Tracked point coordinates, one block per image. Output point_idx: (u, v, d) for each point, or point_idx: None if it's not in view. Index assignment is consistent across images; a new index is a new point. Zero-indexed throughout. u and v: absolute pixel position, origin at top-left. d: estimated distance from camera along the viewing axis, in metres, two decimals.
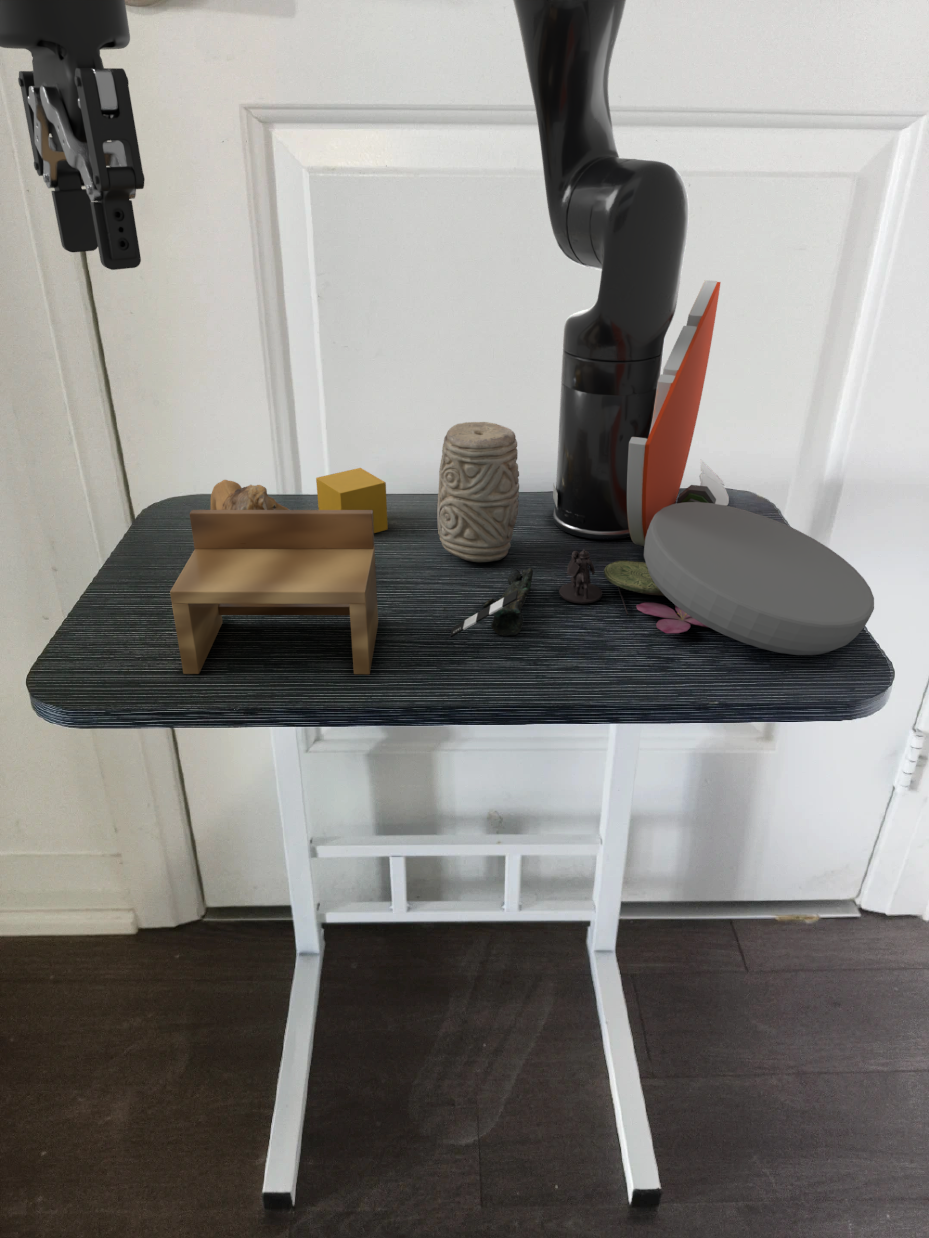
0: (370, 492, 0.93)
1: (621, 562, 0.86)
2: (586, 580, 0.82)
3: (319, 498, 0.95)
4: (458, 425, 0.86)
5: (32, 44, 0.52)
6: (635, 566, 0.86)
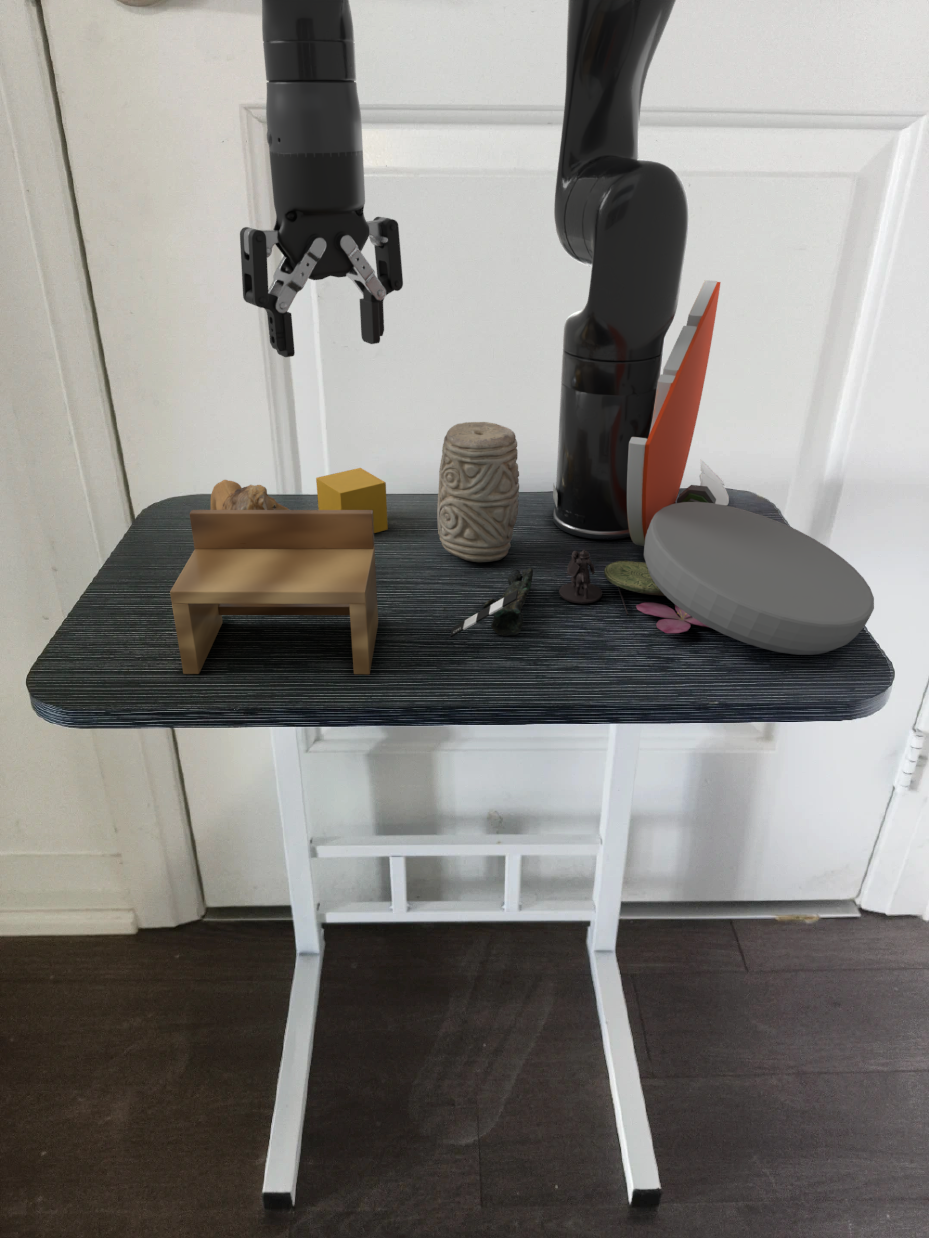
0: (370, 492, 0.93)
1: (621, 562, 0.86)
2: (586, 580, 0.82)
3: (319, 498, 0.95)
4: (458, 425, 0.86)
5: None
6: (635, 566, 0.86)
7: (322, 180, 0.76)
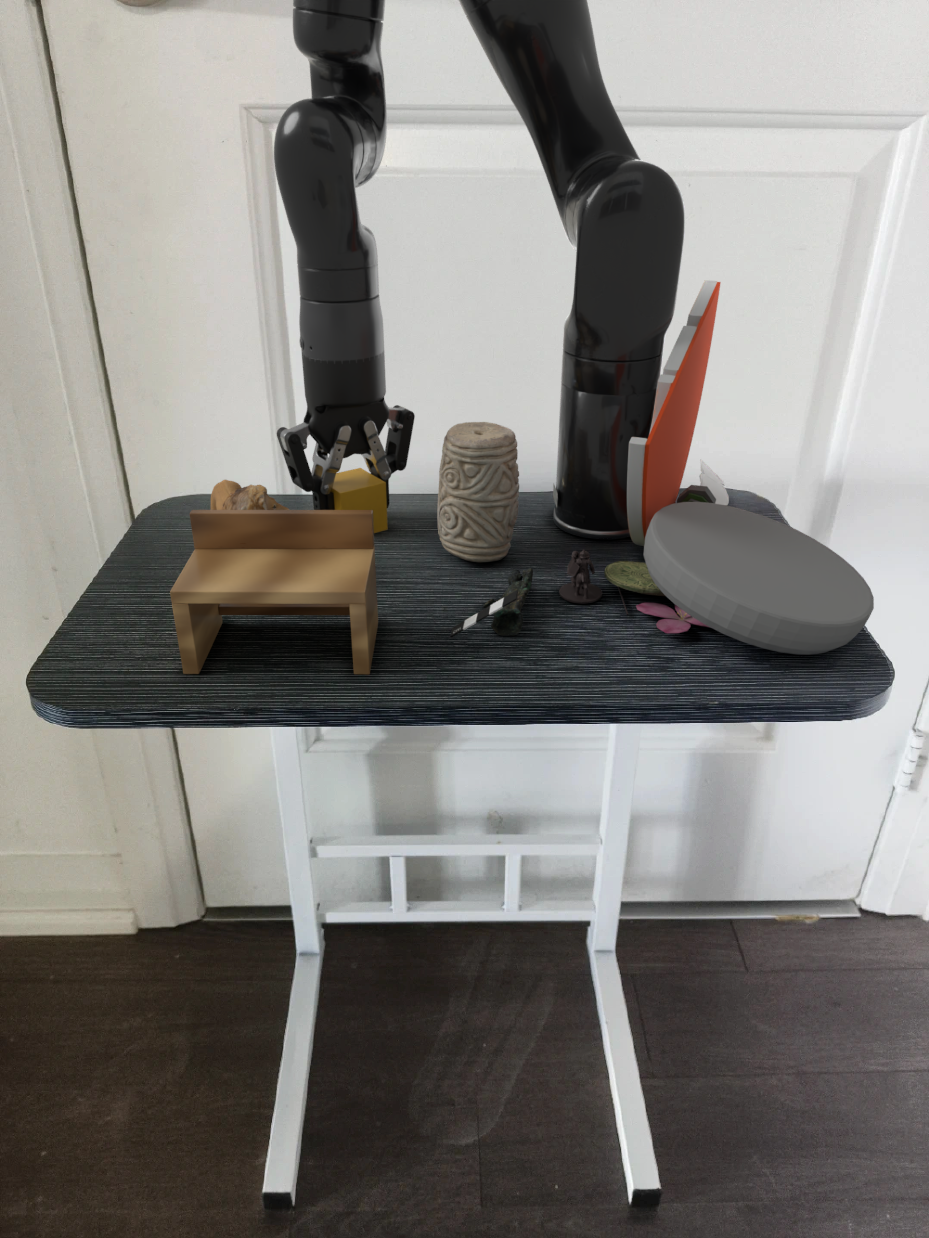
0: (370, 492, 0.93)
1: (622, 562, 0.86)
2: (586, 580, 0.82)
3: None
4: (458, 425, 0.86)
5: None
6: (635, 566, 0.86)
7: (348, 382, 0.86)
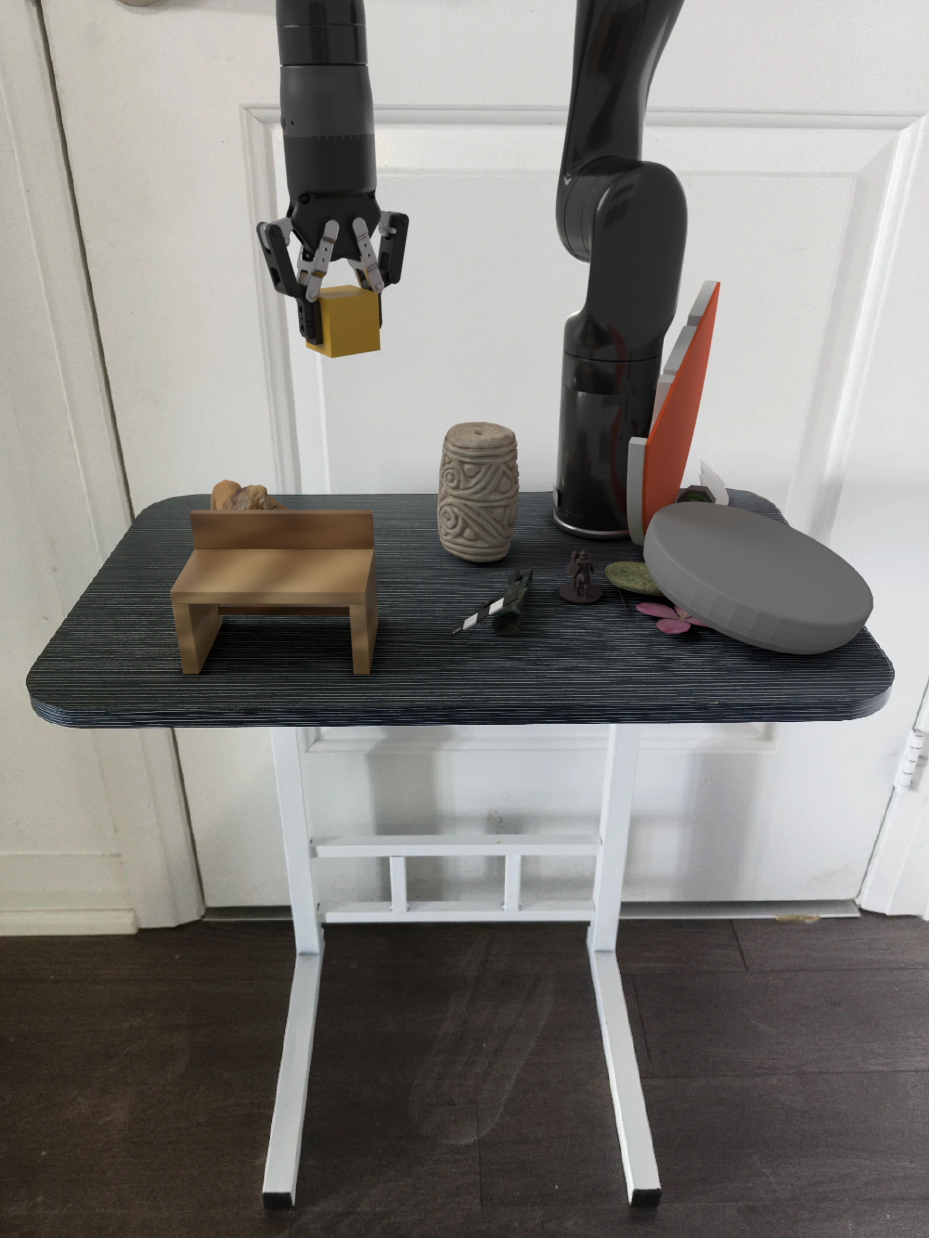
0: (361, 303, 0.84)
1: (622, 562, 0.86)
2: (586, 580, 0.82)
3: None
4: (458, 425, 0.86)
5: None
6: (635, 566, 0.86)
7: (334, 163, 0.77)
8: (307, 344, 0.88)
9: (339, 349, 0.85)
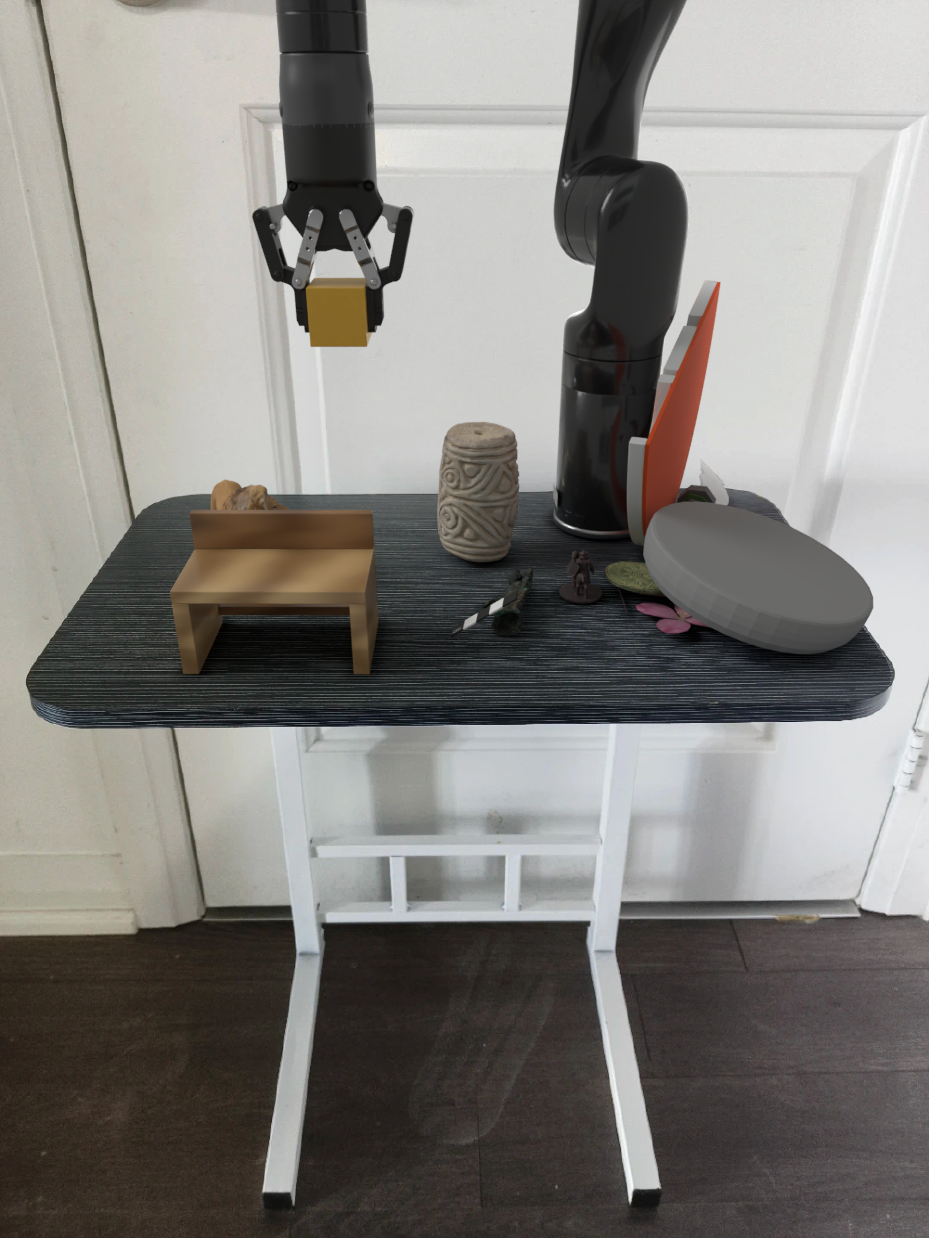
0: None
1: (622, 563, 0.86)
2: (586, 580, 0.82)
3: (365, 311, 0.84)
4: (458, 425, 0.86)
5: (359, 183, 0.79)
6: (635, 566, 0.86)
7: None
8: (367, 342, 0.85)
9: None
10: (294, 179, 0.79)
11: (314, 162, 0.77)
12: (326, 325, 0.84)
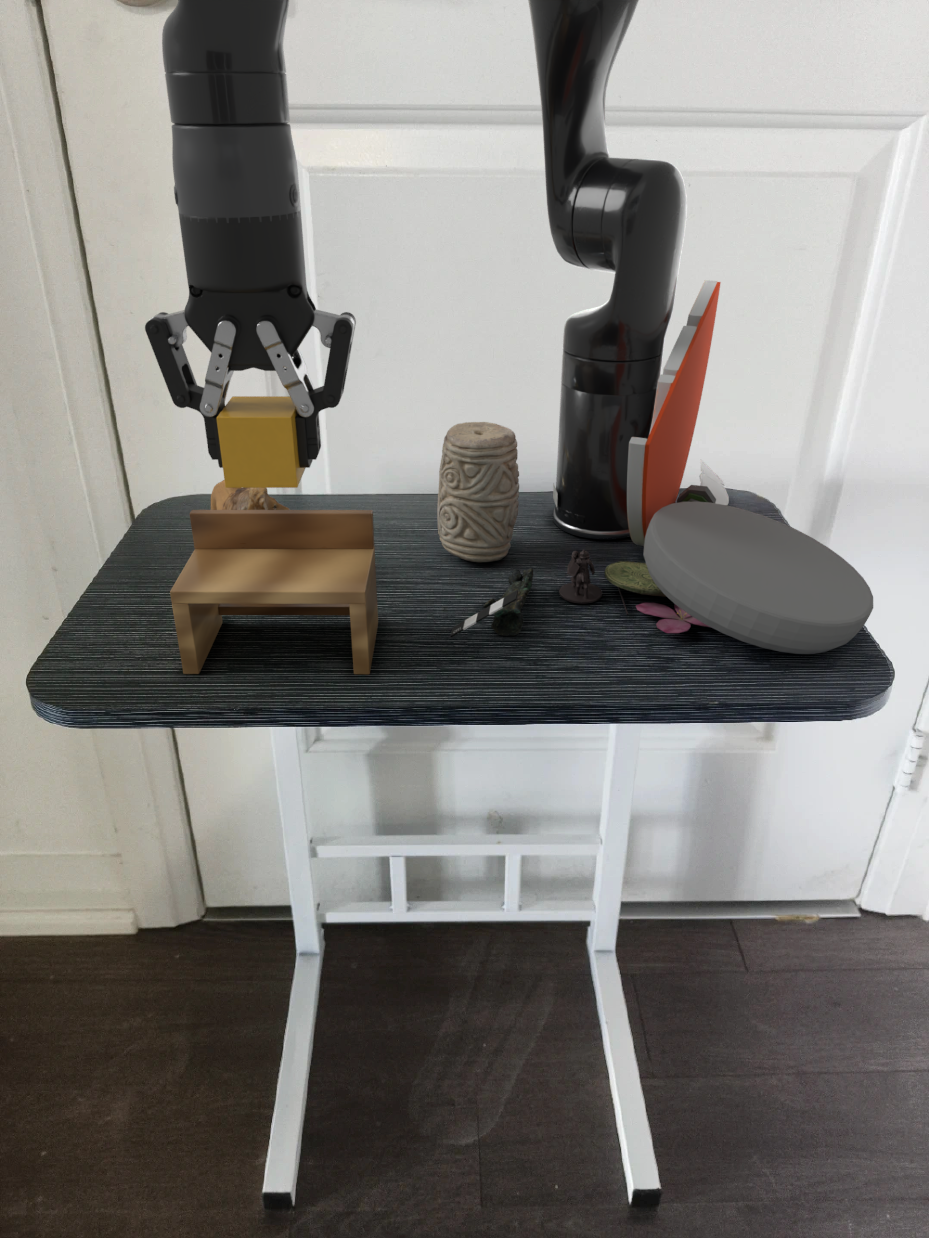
0: None
1: (622, 563, 0.86)
2: (586, 580, 0.82)
3: (294, 444, 0.66)
4: (458, 425, 0.86)
5: (280, 289, 0.61)
6: (636, 566, 0.86)
7: None
8: (297, 481, 0.67)
9: None
10: (195, 284, 0.60)
11: (219, 264, 0.59)
12: (244, 462, 0.66)
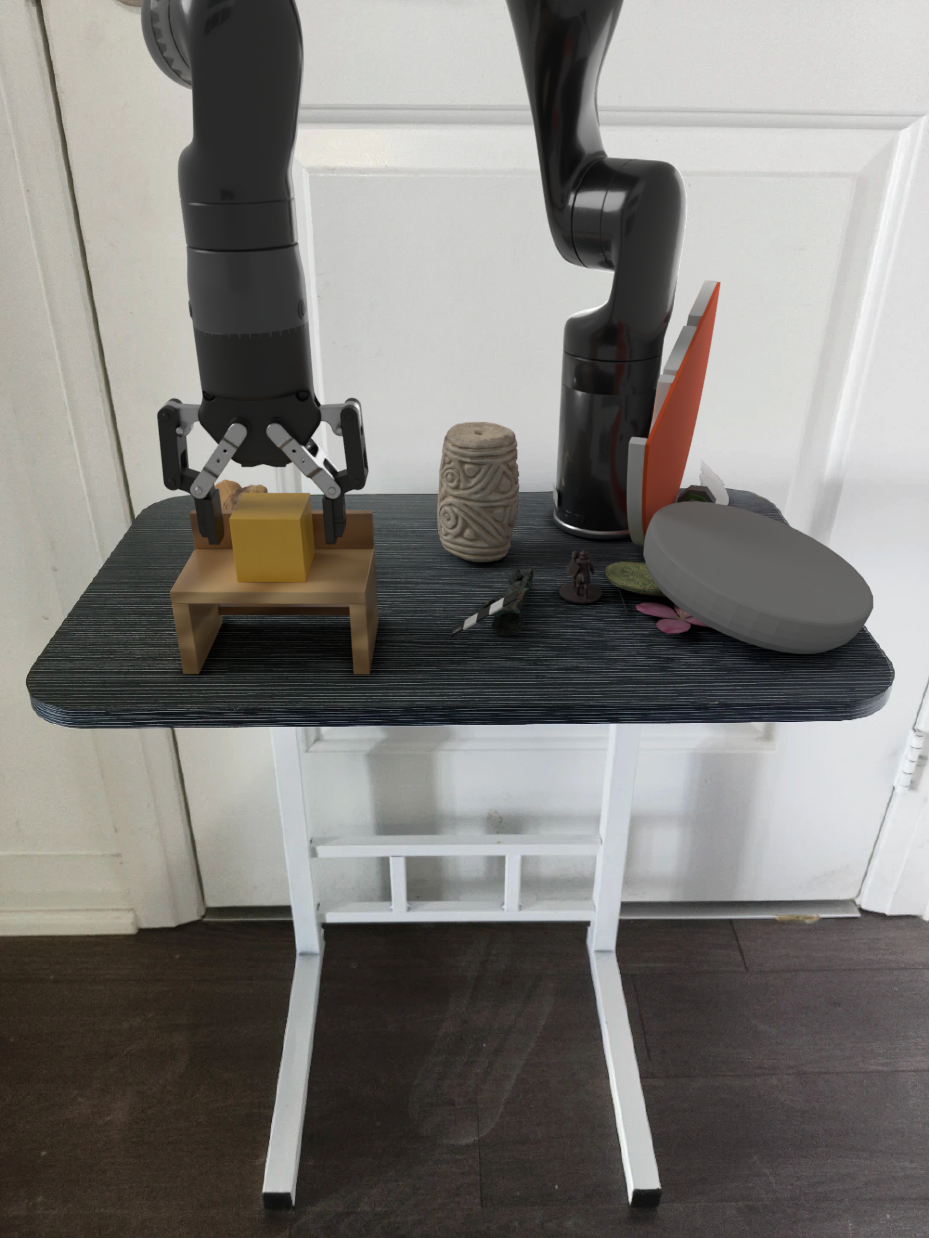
0: None
1: (622, 563, 0.86)
2: (586, 580, 0.82)
3: (303, 542, 0.69)
4: (458, 425, 0.86)
5: (289, 395, 0.64)
6: (636, 567, 0.86)
7: None
8: (305, 576, 0.70)
9: None
10: (209, 391, 0.64)
11: (232, 376, 0.62)
12: (255, 559, 0.69)
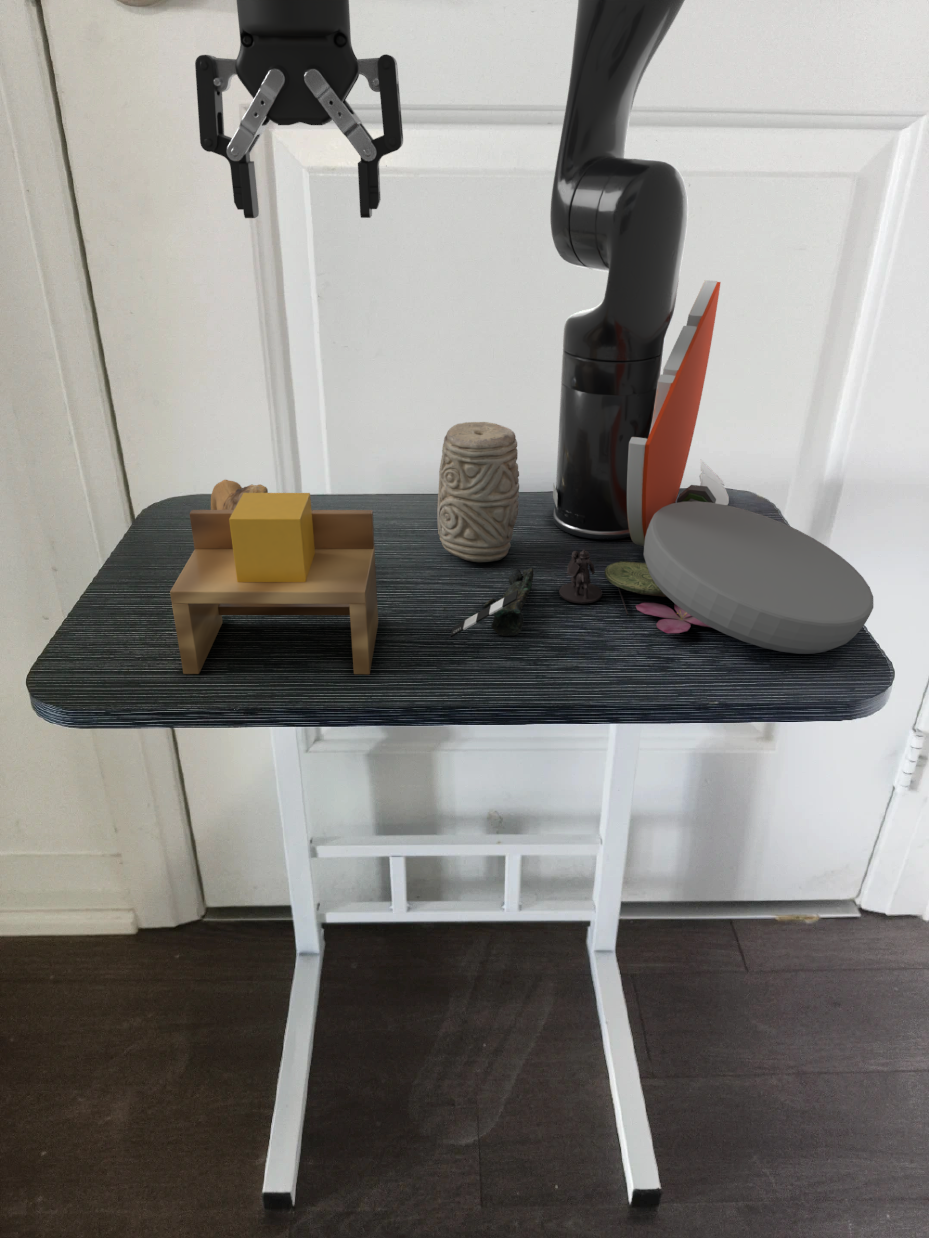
0: None
1: (622, 563, 0.86)
2: (586, 580, 0.82)
3: (303, 542, 0.69)
4: (458, 425, 0.86)
5: (328, 34, 0.64)
6: (636, 567, 0.86)
7: None
8: (305, 576, 0.70)
9: None
10: (248, 28, 0.64)
11: (272, 2, 0.62)
12: (255, 559, 0.69)
